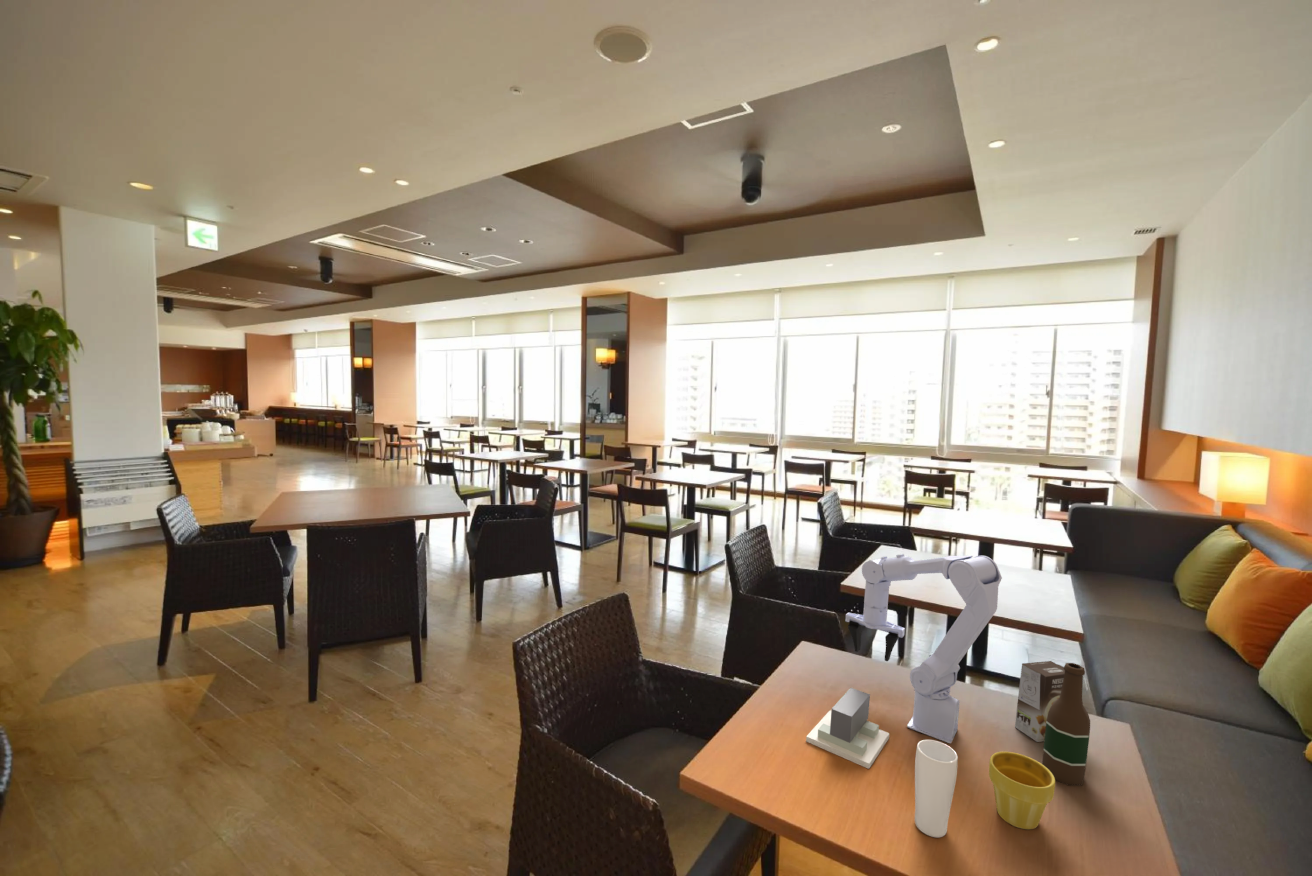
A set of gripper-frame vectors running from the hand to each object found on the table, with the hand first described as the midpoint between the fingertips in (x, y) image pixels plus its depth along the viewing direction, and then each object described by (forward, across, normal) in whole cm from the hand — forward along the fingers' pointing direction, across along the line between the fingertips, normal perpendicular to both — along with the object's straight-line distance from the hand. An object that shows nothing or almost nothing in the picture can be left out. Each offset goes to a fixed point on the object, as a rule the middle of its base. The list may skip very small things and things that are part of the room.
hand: (872, 655), depth 149 cm
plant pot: (+11, +36, -26) cm, 46 cm away
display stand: (+10, +3, -24) cm, 26 cm away
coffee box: (+11, +37, +10) cm, 40 cm away
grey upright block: (+7, +3, -24) cm, 25 cm away
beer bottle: (+11, +42, -5) cm, 44 cm away
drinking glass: (+11, +24, -40) cm, 48 cm away
